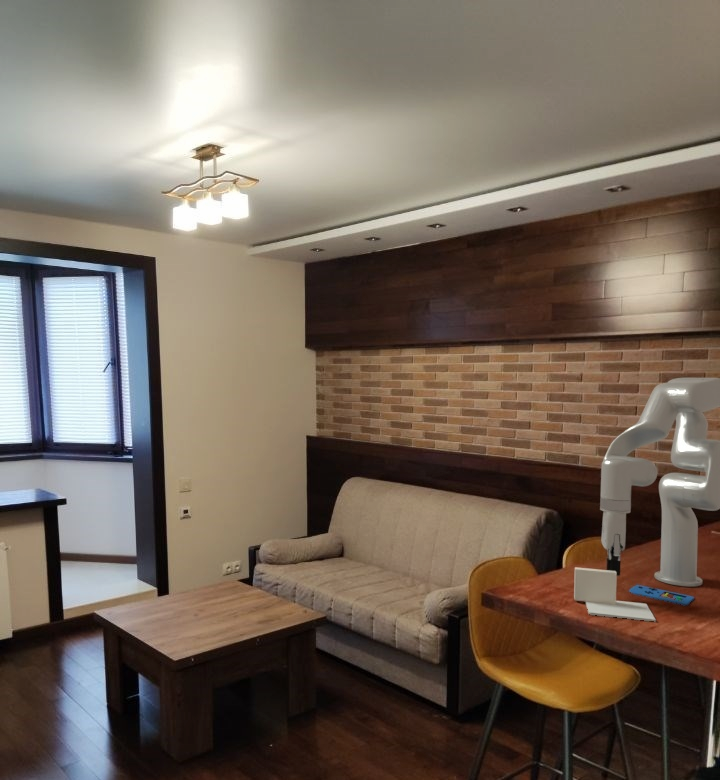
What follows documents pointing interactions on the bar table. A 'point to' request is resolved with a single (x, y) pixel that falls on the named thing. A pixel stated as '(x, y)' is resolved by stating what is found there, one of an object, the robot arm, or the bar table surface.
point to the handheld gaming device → (661, 594)
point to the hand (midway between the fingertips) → (613, 574)
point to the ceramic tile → (595, 585)
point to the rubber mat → (621, 610)
